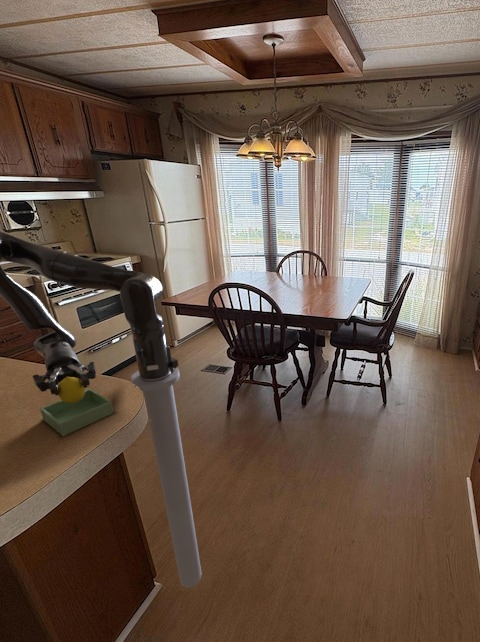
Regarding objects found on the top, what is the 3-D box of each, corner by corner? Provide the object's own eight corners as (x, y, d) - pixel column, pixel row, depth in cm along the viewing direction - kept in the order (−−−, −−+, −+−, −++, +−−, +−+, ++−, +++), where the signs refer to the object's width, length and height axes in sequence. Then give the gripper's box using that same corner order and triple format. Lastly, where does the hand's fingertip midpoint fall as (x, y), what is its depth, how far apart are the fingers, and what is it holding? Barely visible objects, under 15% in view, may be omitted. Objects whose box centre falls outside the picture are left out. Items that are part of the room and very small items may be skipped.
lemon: (64, 400, 91) (56, 374, 88) (88, 395, 93) (81, 370, 90) (60, 411, 86) (52, 384, 83) (86, 406, 89) (79, 380, 86)
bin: (93, 399, 99) (90, 388, 97) (114, 412, 93) (111, 401, 92) (43, 420, 89) (39, 408, 88) (63, 436, 84) (59, 424, 82)
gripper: (25, 357, 91) (30, 384, 80) (89, 344, 100) (101, 367, 89) (33, 381, 94) (39, 410, 83) (94, 367, 103) (107, 391, 92)
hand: (71, 388), depth 86 cm, fingers closed on lemon, 5 cm apart
